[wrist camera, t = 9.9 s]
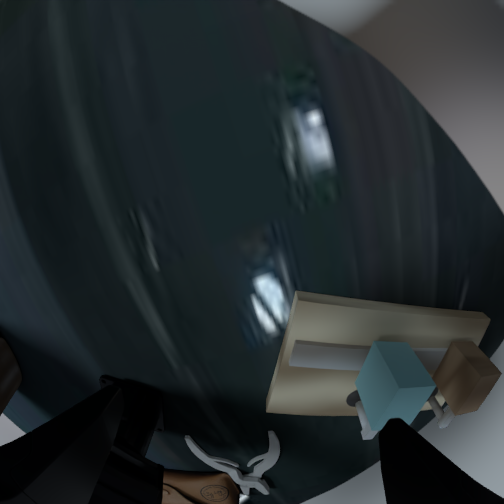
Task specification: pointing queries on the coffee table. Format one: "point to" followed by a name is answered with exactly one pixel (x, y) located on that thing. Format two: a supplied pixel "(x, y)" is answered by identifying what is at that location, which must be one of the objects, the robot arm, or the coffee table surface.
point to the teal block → (391, 386)
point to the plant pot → (8, 374)
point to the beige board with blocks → (358, 346)
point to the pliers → (252, 478)
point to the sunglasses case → (199, 488)
